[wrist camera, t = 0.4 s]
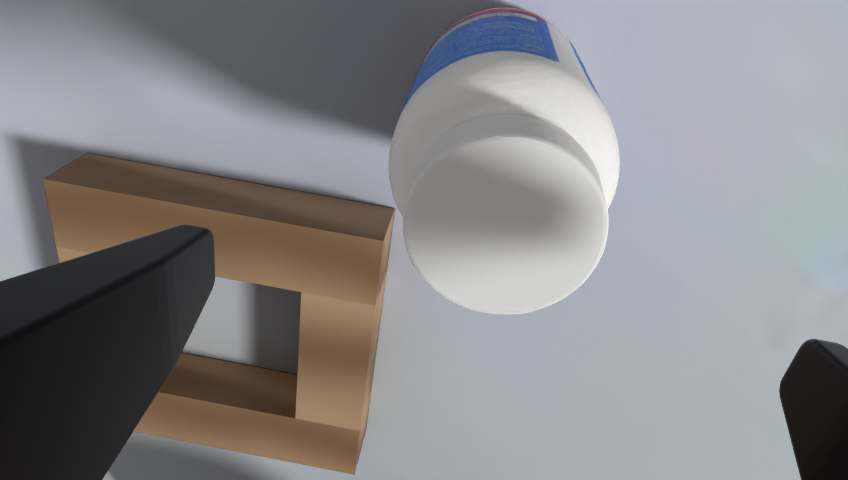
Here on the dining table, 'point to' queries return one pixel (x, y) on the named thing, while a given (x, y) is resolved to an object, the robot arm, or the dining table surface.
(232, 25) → the dining table surface
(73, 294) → the robot arm
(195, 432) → the socket block
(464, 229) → the pill bottle
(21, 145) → the dining table surface
